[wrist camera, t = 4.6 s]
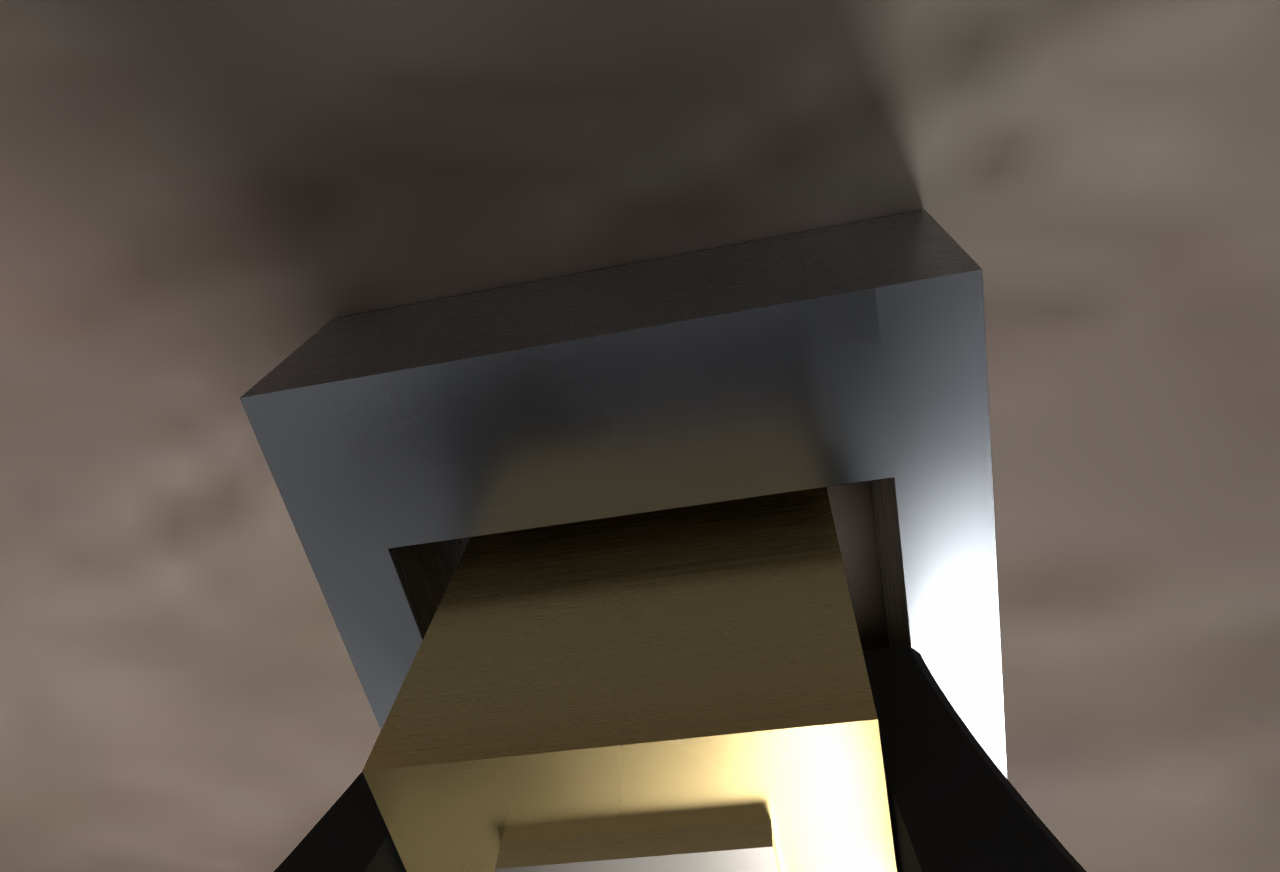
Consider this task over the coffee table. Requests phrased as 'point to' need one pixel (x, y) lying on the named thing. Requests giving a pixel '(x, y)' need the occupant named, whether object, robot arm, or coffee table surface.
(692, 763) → the gold square block
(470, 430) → the grey slotted tray
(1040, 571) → the coffee table surface
